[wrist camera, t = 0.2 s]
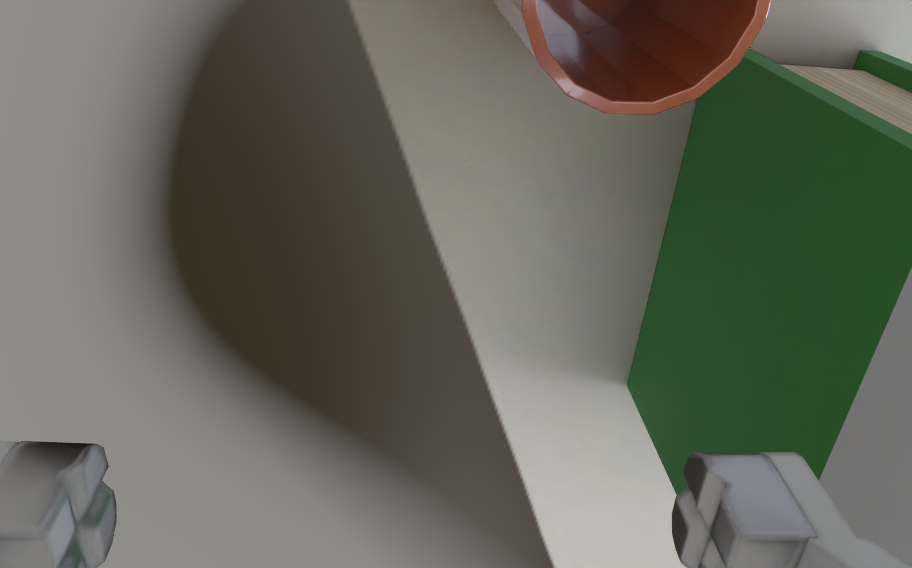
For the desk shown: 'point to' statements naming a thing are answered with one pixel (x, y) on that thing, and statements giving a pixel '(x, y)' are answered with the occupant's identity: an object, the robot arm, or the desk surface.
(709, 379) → the hardback book
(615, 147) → the desk surface
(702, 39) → the cup
